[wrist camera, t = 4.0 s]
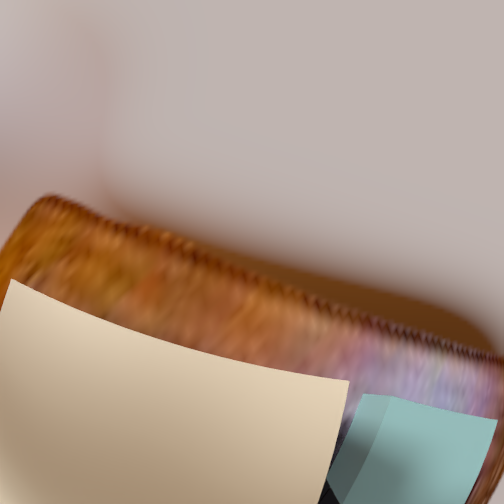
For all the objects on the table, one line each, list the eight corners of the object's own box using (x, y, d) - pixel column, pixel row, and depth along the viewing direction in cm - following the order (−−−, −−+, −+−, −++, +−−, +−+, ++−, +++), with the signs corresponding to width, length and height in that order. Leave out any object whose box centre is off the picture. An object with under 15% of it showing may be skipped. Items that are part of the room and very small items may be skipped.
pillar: (245, 460, 13) (252, 633, 1) (157, 436, 13) (-15, 516, 1) (265, 378, 15) (349, 380, 3) (178, 356, 15) (11, 278, 3)
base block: (462, 419, 15) (497, 420, 11) (410, 530, 11) (437, 547, 7) (361, 393, 16) (391, 395, 12) (296, 522, 12) (310, 551, 8)
